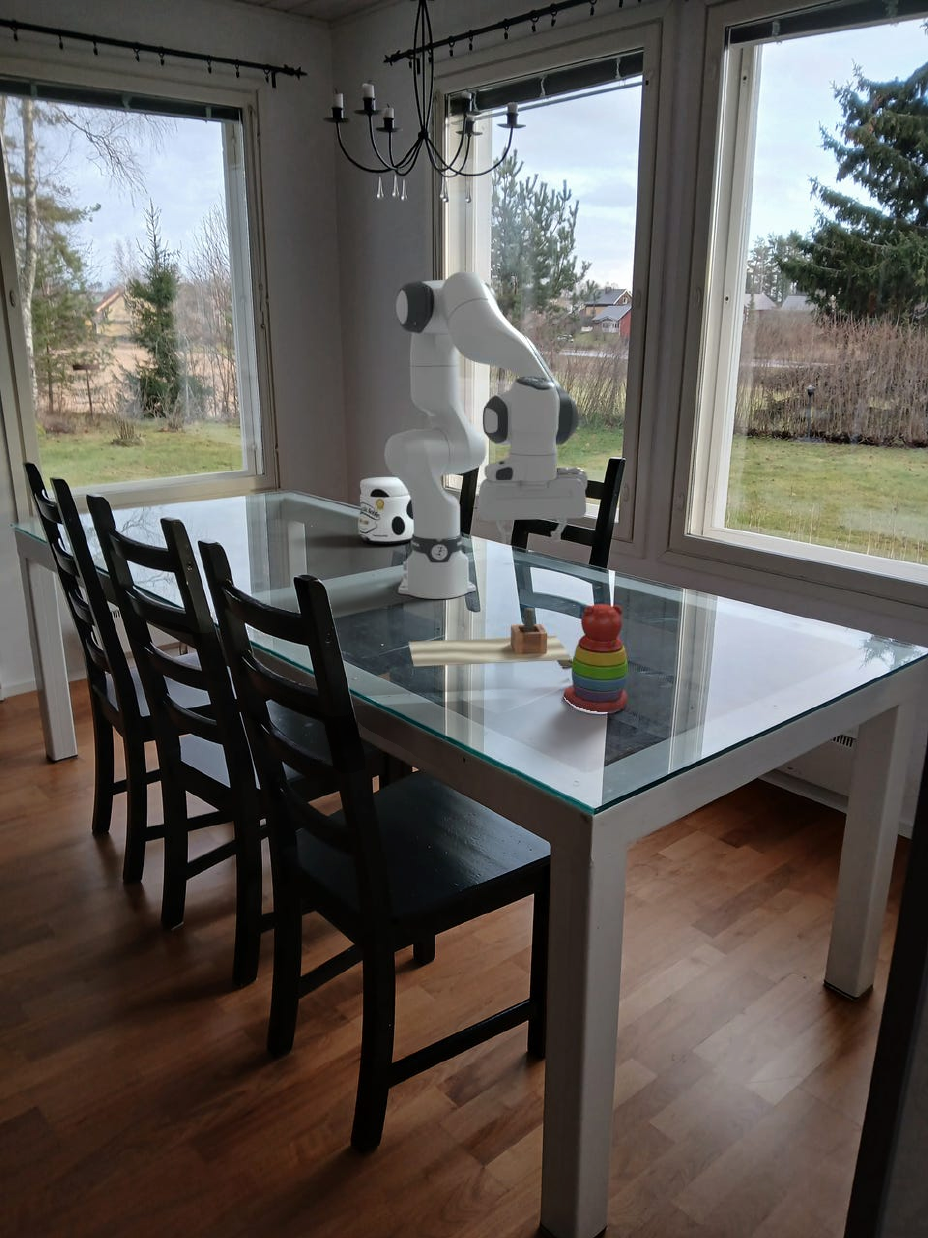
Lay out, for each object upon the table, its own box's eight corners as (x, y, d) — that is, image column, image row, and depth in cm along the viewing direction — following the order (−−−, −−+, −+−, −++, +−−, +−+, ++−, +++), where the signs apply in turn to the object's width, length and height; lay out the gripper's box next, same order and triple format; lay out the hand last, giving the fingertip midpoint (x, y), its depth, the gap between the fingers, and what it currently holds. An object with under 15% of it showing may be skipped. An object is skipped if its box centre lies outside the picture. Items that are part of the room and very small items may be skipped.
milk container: (349, 545, 275) (347, 484, 270) (371, 533, 291) (370, 475, 286) (404, 549, 270) (403, 487, 265) (424, 536, 286) (424, 477, 281)
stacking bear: (622, 692, 166) (627, 595, 161) (635, 715, 156) (641, 612, 151) (561, 693, 165) (564, 596, 160) (571, 716, 156) (575, 614, 150)
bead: (510, 644, 186) (510, 625, 185) (540, 643, 187) (540, 623, 186) (516, 654, 180) (516, 634, 179) (546, 653, 181) (547, 633, 180)
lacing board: (408, 649, 188) (407, 603, 185) (555, 642, 192) (557, 598, 189) (413, 673, 175) (413, 625, 172) (571, 666, 178) (573, 618, 175)
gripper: (583, 465, 177) (580, 536, 182) (476, 466, 175) (475, 539, 179) (592, 470, 171) (589, 544, 176) (481, 472, 169) (480, 547, 173)
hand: (531, 542), depth 177 cm, fingers open, 8 cm apart
